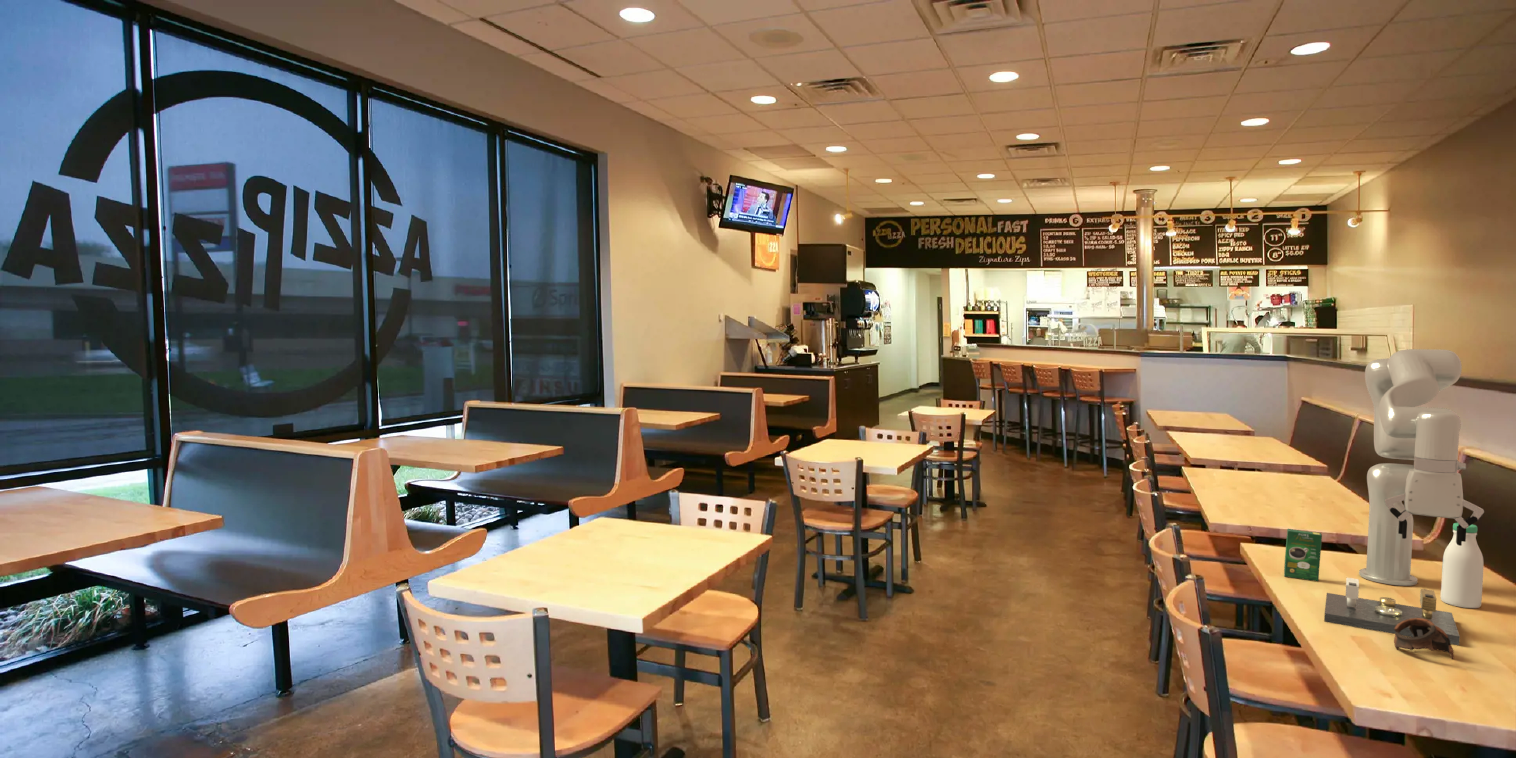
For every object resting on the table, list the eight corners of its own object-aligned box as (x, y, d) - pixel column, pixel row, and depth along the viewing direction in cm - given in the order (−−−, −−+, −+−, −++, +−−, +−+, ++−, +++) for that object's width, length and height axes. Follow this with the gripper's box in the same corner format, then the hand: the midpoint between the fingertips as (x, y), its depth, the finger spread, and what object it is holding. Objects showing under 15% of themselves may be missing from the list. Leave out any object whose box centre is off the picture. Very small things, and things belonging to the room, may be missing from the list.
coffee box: (1319, 579, 223) (1321, 531, 222) (1319, 582, 220) (1322, 534, 219) (1283, 574, 227) (1286, 527, 226) (1284, 577, 224) (1286, 530, 223)
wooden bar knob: (1419, 612, 190) (1420, 587, 190) (1432, 614, 189) (1434, 589, 189) (1421, 621, 185) (1422, 595, 184) (1434, 623, 183) (1436, 597, 183)
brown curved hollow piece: (1465, 668, 166) (1447, 634, 166) (1411, 678, 171) (1393, 645, 170) (1446, 633, 177) (1429, 601, 176) (1395, 644, 181) (1378, 613, 181)
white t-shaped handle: (1345, 600, 199) (1346, 576, 198) (1357, 602, 197) (1358, 578, 197) (1344, 608, 193) (1346, 583, 192) (1357, 610, 191) (1358, 585, 191)
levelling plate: (1326, 600, 205) (1327, 586, 205) (1451, 621, 191) (1452, 605, 191) (1324, 621, 191) (1325, 606, 191) (1459, 645, 177) (1460, 629, 177)
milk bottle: (1488, 610, 199) (1494, 529, 197) (1452, 607, 200) (1457, 527, 199) (1468, 599, 206) (1473, 521, 205) (1433, 597, 208) (1437, 519, 206)
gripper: (1484, 467, 182) (1479, 543, 183) (1386, 460, 193) (1382, 531, 194) (1488, 472, 176) (1483, 550, 177) (1387, 464, 186) (1383, 538, 188)
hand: (1430, 540), depth 186 cm, fingers open, 9 cm apart
